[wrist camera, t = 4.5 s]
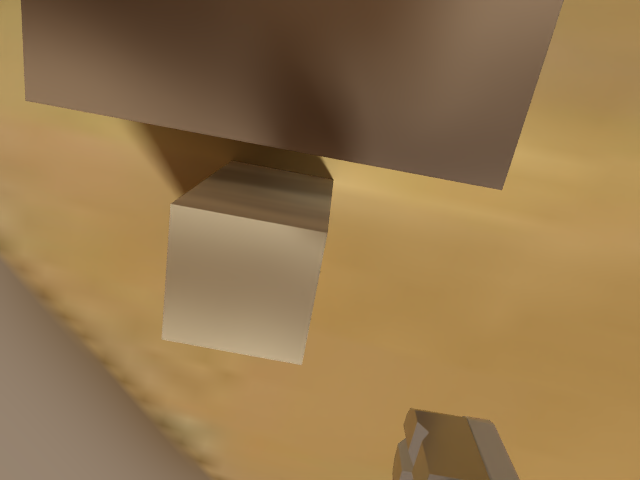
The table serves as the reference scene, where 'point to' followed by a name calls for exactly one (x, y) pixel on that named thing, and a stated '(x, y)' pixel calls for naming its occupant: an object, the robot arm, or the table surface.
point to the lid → (305, 73)
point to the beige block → (246, 261)
